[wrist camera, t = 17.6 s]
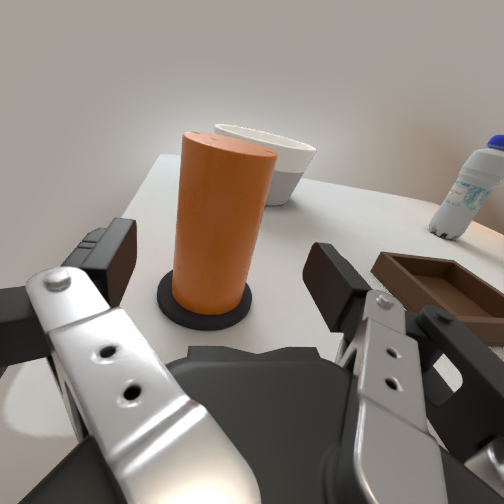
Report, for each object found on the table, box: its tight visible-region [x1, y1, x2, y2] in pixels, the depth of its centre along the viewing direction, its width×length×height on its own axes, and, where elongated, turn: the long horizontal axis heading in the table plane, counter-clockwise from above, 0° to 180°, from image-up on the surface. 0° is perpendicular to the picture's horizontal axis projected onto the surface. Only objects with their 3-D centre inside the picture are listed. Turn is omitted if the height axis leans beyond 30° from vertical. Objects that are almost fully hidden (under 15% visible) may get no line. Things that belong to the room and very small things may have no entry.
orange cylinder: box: [172, 132, 278, 315], centre depth 19 cm, size 6×6×12 cm
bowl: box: [214, 124, 317, 206], centre depth 49 cm, size 19×19×11 cm
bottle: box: [429, 135, 504, 240], centre depth 50 cm, size 7×7×20 cm
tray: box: [371, 252, 504, 346], centre depth 29 cm, size 12×12×3 cm
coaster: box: [157, 270, 252, 330], centre depth 22 cm, size 8×8×1 cm
